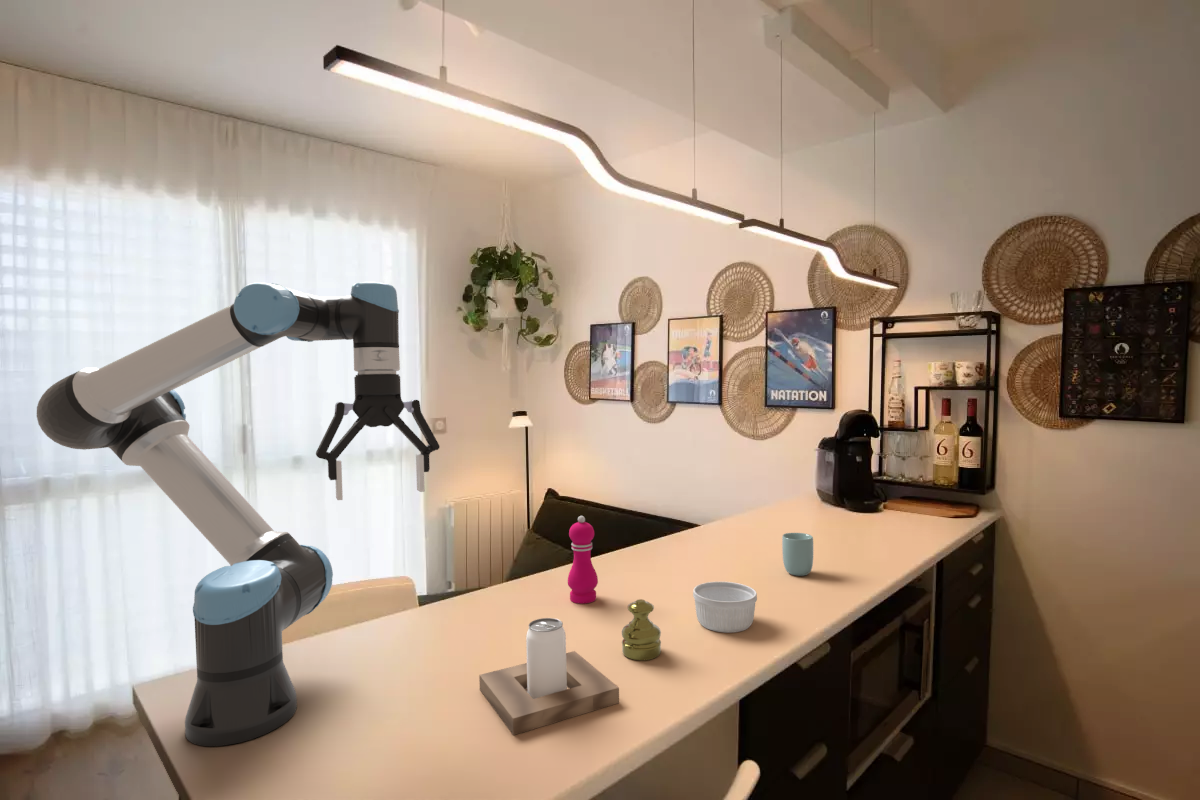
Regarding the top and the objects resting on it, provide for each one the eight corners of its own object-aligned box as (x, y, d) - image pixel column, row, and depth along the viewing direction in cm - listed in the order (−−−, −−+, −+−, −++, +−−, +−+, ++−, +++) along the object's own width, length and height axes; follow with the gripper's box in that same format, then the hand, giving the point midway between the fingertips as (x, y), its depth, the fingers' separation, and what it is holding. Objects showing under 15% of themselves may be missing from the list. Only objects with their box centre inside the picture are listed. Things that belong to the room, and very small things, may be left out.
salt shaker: (616, 648, 121) (615, 597, 121) (650, 642, 124) (649, 592, 123) (631, 664, 114) (630, 610, 114) (668, 657, 117) (667, 604, 116)
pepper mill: (571, 606, 144) (569, 520, 144) (565, 596, 151) (563, 514, 151) (601, 602, 146) (600, 517, 146) (593, 592, 153) (592, 511, 153)
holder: (513, 735, 92) (513, 718, 92) (479, 689, 106) (479, 674, 106) (619, 702, 100) (618, 687, 100) (575, 664, 114) (574, 650, 114)
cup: (809, 569, 168) (809, 532, 168) (816, 578, 160) (816, 539, 160) (780, 569, 169) (779, 532, 169) (785, 578, 161) (785, 539, 161)
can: (547, 683, 108) (545, 614, 107) (575, 694, 103) (573, 622, 103) (519, 698, 102) (517, 625, 102) (547, 710, 98) (546, 635, 98)
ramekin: (758, 614, 137) (757, 583, 137) (756, 638, 124) (756, 603, 124) (697, 609, 141) (696, 579, 140) (689, 632, 128) (689, 599, 128)
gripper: (299, 373, 99) (303, 506, 100) (454, 371, 111) (457, 490, 112) (296, 374, 106) (301, 499, 106) (443, 372, 118) (446, 484, 118)
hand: (381, 494), depth 109 cm, fingers open, 13 cm apart
